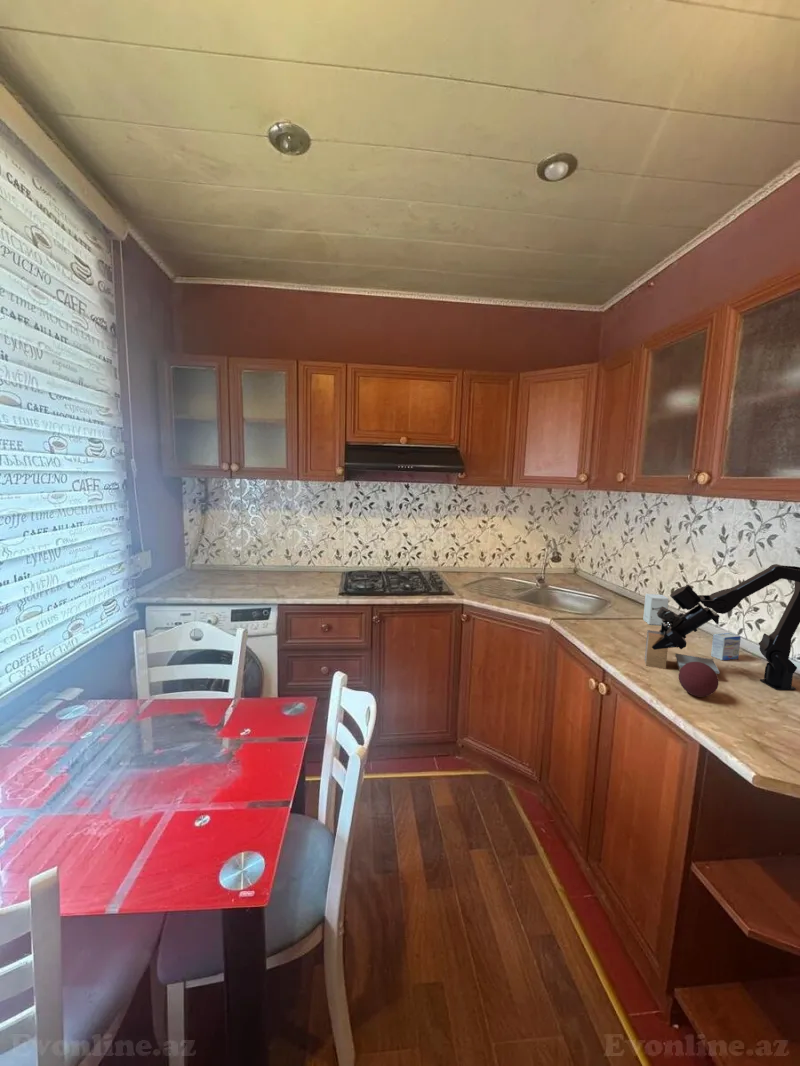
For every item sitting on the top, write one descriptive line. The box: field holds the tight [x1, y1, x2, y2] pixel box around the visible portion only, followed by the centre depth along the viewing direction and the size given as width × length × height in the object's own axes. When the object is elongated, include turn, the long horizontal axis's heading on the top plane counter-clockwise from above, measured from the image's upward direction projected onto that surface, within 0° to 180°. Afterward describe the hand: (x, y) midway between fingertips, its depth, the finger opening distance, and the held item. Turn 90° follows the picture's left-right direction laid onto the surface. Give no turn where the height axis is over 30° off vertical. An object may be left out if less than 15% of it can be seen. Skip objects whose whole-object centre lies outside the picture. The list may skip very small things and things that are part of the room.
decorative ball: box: [678, 662, 719, 698], centre depth 134 cm, size 10×10×10 cm
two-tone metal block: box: [644, 629, 669, 670], centre depth 156 cm, size 6×6×11 cm
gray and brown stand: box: [675, 653, 720, 675], centre depth 151 cm, size 11×11×3 cm
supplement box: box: [642, 593, 670, 626], centre depth 201 cm, size 7×7×13 cm
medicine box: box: [710, 632, 741, 661], centre depth 163 cm, size 8×4×9 cm, turn 105°
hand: (652, 645), depth 156 cm, fingers closed on two-tone metal block, 6 cm apart
